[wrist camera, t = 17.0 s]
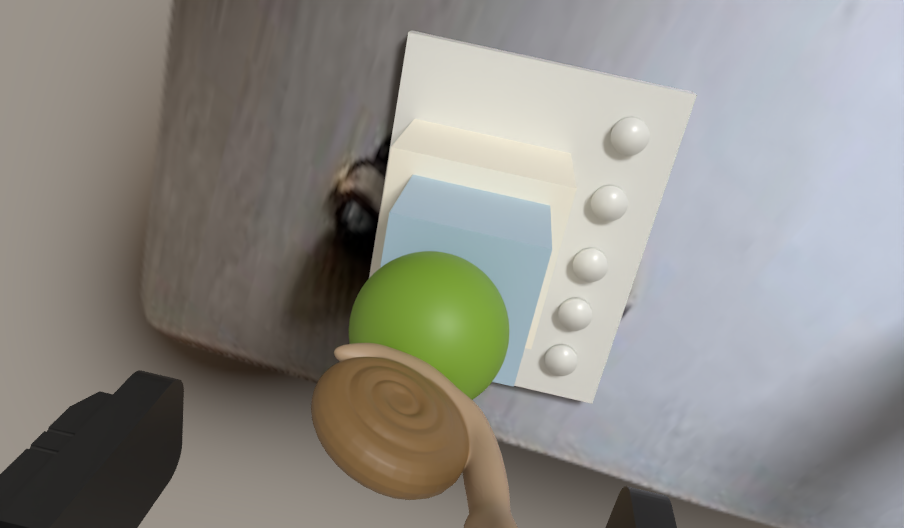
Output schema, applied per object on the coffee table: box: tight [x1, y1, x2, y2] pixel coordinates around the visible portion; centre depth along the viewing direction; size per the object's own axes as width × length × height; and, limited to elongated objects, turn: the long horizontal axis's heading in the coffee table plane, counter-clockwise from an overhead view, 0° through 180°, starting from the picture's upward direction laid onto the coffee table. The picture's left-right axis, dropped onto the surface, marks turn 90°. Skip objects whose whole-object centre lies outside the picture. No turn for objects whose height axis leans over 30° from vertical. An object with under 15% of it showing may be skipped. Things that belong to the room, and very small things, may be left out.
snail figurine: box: [311, 251, 517, 528], centre depth 20 cm, size 5×6×12 cm
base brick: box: [370, 119, 577, 349], centre depth 33 cm, size 8×8×6 cm
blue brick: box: [380, 175, 552, 387], centre depth 28 cm, size 6×6×5 cm
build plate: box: [369, 31, 697, 403], centre depth 36 cm, size 18×14×2 cm
